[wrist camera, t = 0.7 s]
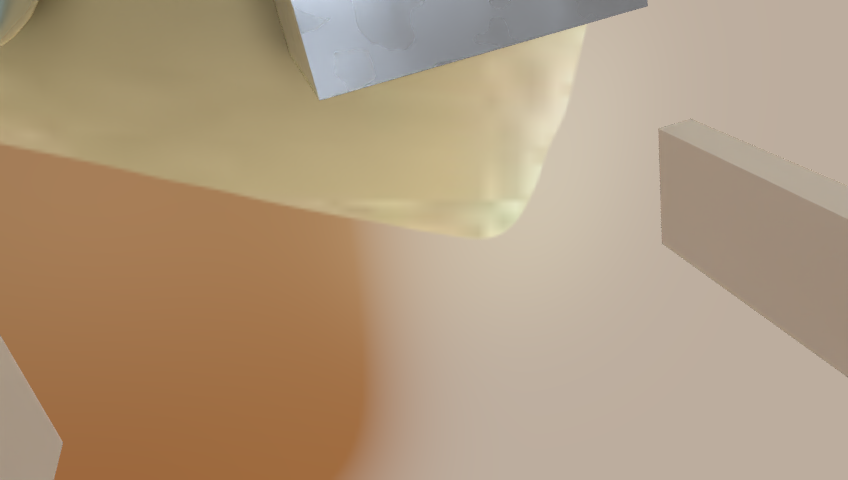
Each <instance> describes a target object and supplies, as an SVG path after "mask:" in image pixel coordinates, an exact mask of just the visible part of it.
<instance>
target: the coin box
mask: <svg viewBox="0 0 848 480" xmlns="http://www.w3.org/2000/svg"><path fill="white" fill-rule="evenodd" d="M274 3H275V7H276V10H277V13H278V17H279V20H280V24H281V27H282V30H283V34H284V37H285V40H286V44H287V47H288V50H289V54H290V56H291V58H292V59H293V61H294V62H295V64H296V65H297V67H298V68H299V70H300V71H301V73H302V74H303V76H304V77H305V79H306V80H307V82H308V83H309V85H310V87H311V88H312V90H313V91H314V93H315V94H316V96H317V97H318V99H319V100H323V99H326V98H330V97H333V96H337V95H340V94H344V93H347V92H351V91H354V90H358V89H361V88H365V87H368V86H372V85H375V84H379V83H382V82H385V81H389V80H392V79H396V78H399V77H403V76H406V75H410V74H413V73H417V72H420V71H424V70H427V69H431V68H434V67H438V66H441V65H445V64H448V63H452V62H455V61H458V60H462V59H465V58H469V57H472V56H476V55H479V54H483V53H486V52H490V51H493V50H497V49H500V48H504V47H507V46H511V45H514V44H518V43H521V42H525V41H528V40H532V39H535V38H538V37H542V36H545V35H549V34H552V33H556V32H559V31H563V30H566V29H570V28H573V27H577V26H580V25H584V24H587V23H591V22H594V21H598V20H601V19H605V18H608V17H611V16H615V15H618V14H622V13H625V12H629V11H632V10H636V9H639V8H643V7H646V6H648V4H647V0H274Z"/></svg>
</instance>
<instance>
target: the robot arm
mask: <svg viewBox="0 0 848 480" xmlns="http://www.w3.org/2000/svg"><path fill="white" fill-rule="evenodd" d="M658 130H659V162H660V194H661V226H662V227H661V228H662V244H663V245H665V246H666V247H668V248H669V249H670V250H672V251H673V252H675V253H676V254H677V255H679V256H680V257H681V258H683V259H684V260H686V261H687V262H688V263H690V264H691V265H693V266H694V267H695V268H697V269H698V270H700V271H701V272H702V273H704V274H705V275H706V276H708V277H709V278H711V279H712V280H714V281H715V282H716V283H718V284H719V285H720V286H722V287H723V288H725V289H726V290H727V291H729V292H730V293H731V294H733V295H734V296H736V297H737V298H738V299H740V300H741V301H743V302H744V303H745V304H747V305H748V306H750V307H751V308H752V309H754V310H755V311H756V312H758V313H759V314H761V315H762V316H764V317H765V318H766V319H767V320H769V321H770V322H772V323H773V324H774V325H776V326H777V327H779V328H780V329H781V330H783V331H784V332H785V333H787V334H788V335H790V336H791V337H793V338H794V339H795V340H797V341H798V342H799V343H801V344H802V345H804V346H805V347H806V348H808V349H809V350H811V351H812V352H813V353H815V354H816V355H817V356H819V357H820V358H822V359H823V360H824V361H826V362H827V363H829V364H830V365H831V366H833V367H834V368H835V369H837V370H838V371H840V372H841V373H842V374H844V375H845V376H846V377H848V186H847V185H845V184H842V183H840V182H837V181H835V180H833V179H830V178H828V177H826V176H823V175H821V174H819V173H817V172H814V171H812V170H809V169H807V168H805V167H802V166H800V165H798V164H795V163H793V162H791V161H788V160H786V159H784V158H781V157H779V156H777V155H774V154H772V153H769V152H767V151H765V150H763V149H760V148H758V147H756V146H753V145H751V144H749V143H746V142H744V141H741V140H739V139H737V138H735V137H732V136H730V135H728V134H725V133H723V132H721V131H718V130H716V129H714V128H711V127H709V126H707V125H704V124H702V123H700V122H697V121H695V120H693V119H689V120H685V121H682V122H679V123H676V124H672V125H669V126H665V127H662V128H659V129H658ZM62 444H63V442H62V440H61V438H60V437H59V435H58V433H57V431H56V430H55V428H54V426H53V425H52V423H51V421H50V420H49V418H48V416H47V414H46V413H45V411H44V409H43V408H42V406H41V404H40V402H39V401H38V399H37V397H36V396H35V394H34V392H33V390H32V389H31V387H30V385H29V384H28V382H27V380H26V379H25V377H24V375H23V373H22V372H21V370H20V368H19V367H18V365H17V363H16V361H15V360H14V358H13V356H12V354H11V353H10V351H9V349H8V348H7V346H6V344H5V343H4V341H3V339H2V337H1V336H0V480H54V476H55V473H56V469H57V464H58V460H59V456H60V452H61V448H62Z"/></svg>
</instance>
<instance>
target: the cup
mask: <svg viewBox="0 0 848 480" xmlns="http://www.w3.org/2000/svg"><path fill="white" fill-rule="evenodd" d="M38 1H39V0H0V47H1V46H2V45H4V44H5V43H7V42H8V41H10V40H11V39H12V38H13V37H14V36H15V35H16V34H17V33H18V32H19V31H20V30H21V29H22V27H23V26H24V25H25V24H26V23H27V21H28V20H29V19H30V18H31V16H32V14H33V12H34V10H35V8H36V6H37V3H38Z"/></svg>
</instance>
